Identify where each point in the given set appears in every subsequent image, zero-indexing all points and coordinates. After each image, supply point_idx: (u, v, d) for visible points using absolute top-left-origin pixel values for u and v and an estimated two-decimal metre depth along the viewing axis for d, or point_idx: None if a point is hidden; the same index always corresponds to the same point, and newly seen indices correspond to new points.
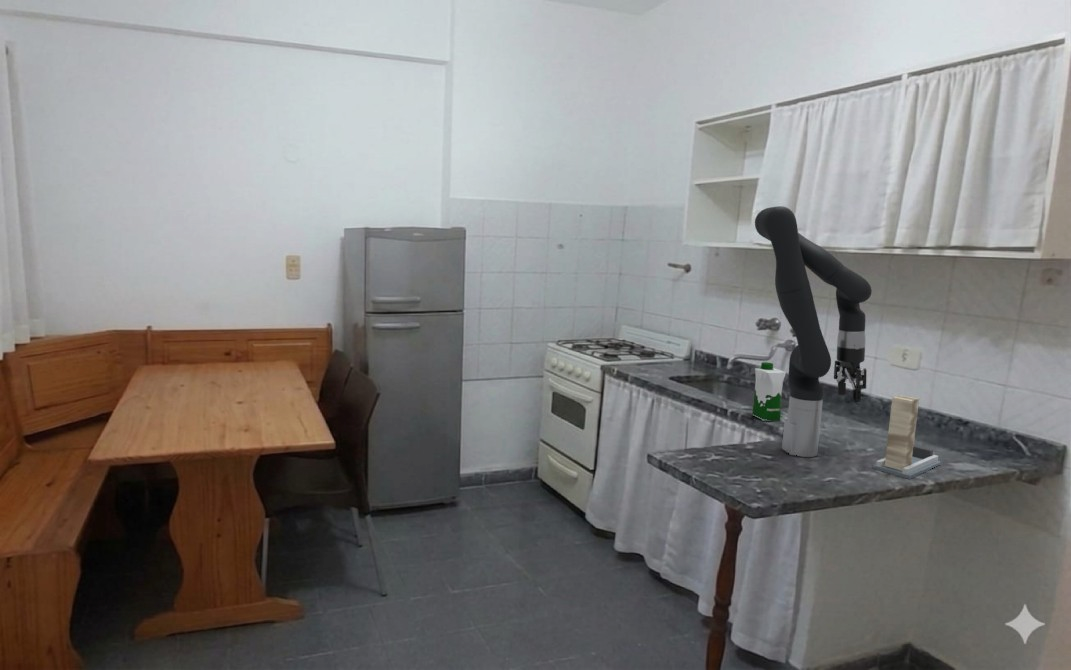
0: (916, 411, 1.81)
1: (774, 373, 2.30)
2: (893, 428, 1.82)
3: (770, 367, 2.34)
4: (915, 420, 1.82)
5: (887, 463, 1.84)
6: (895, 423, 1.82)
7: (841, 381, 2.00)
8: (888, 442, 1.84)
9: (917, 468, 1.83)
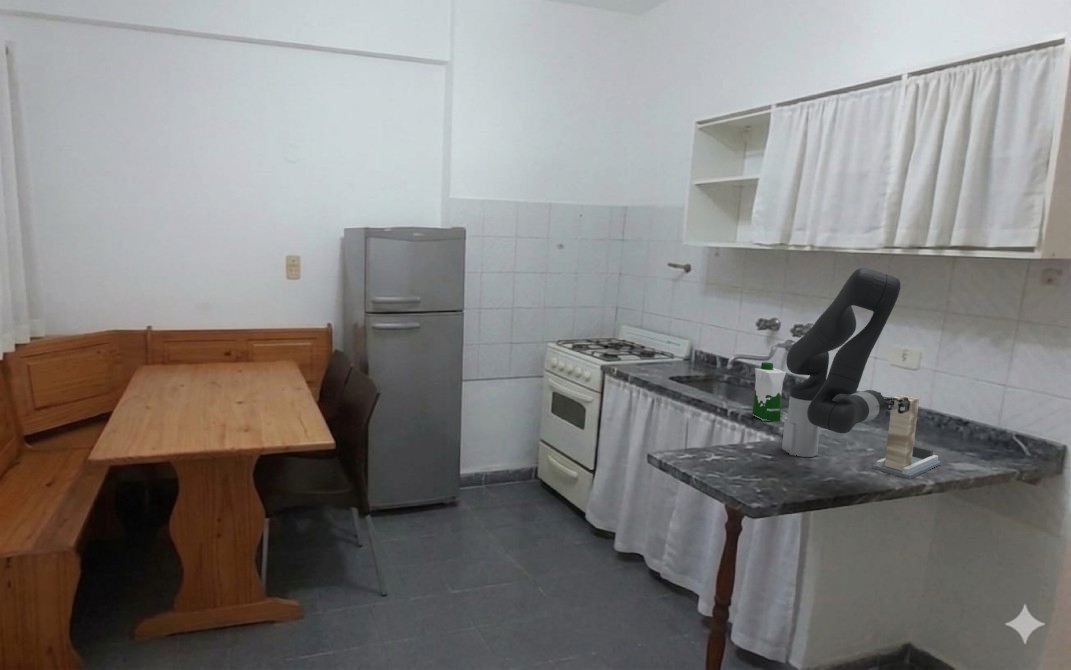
0: (916, 411, 1.81)
1: (774, 373, 2.30)
2: (893, 428, 1.82)
3: (770, 367, 2.34)
4: (915, 420, 1.82)
5: (887, 463, 1.84)
6: (895, 423, 1.82)
7: None
8: (888, 442, 1.84)
9: (917, 468, 1.83)
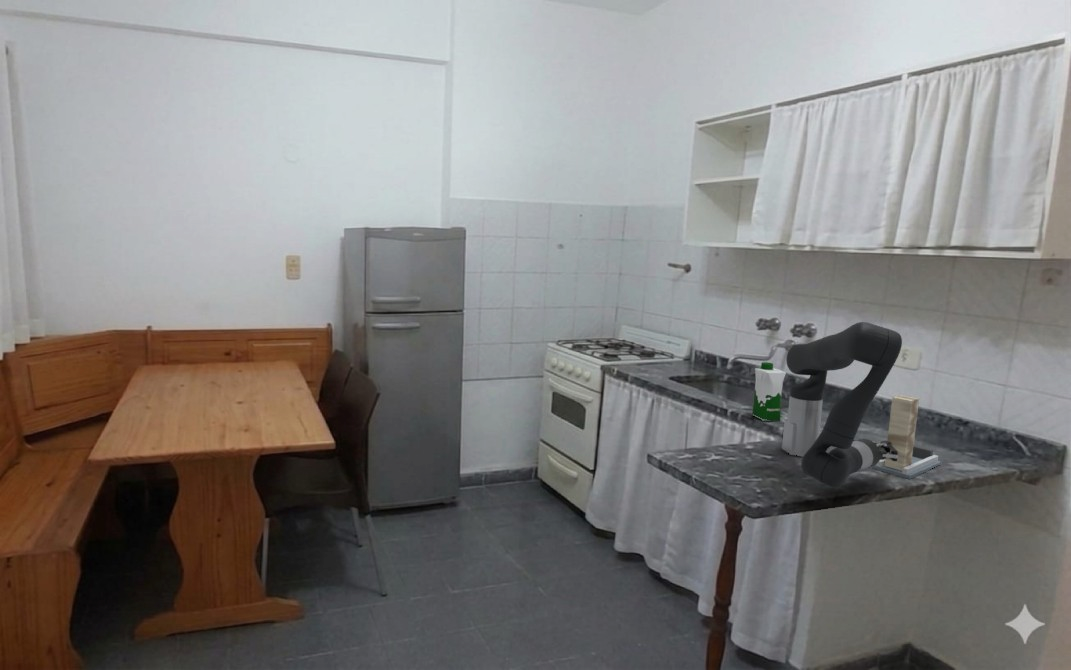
0: (916, 411, 1.81)
1: (774, 373, 2.30)
2: (893, 428, 1.82)
3: (770, 367, 2.34)
4: (915, 420, 1.82)
5: (887, 463, 1.84)
6: (895, 423, 1.82)
7: None
8: None
9: (917, 468, 1.83)
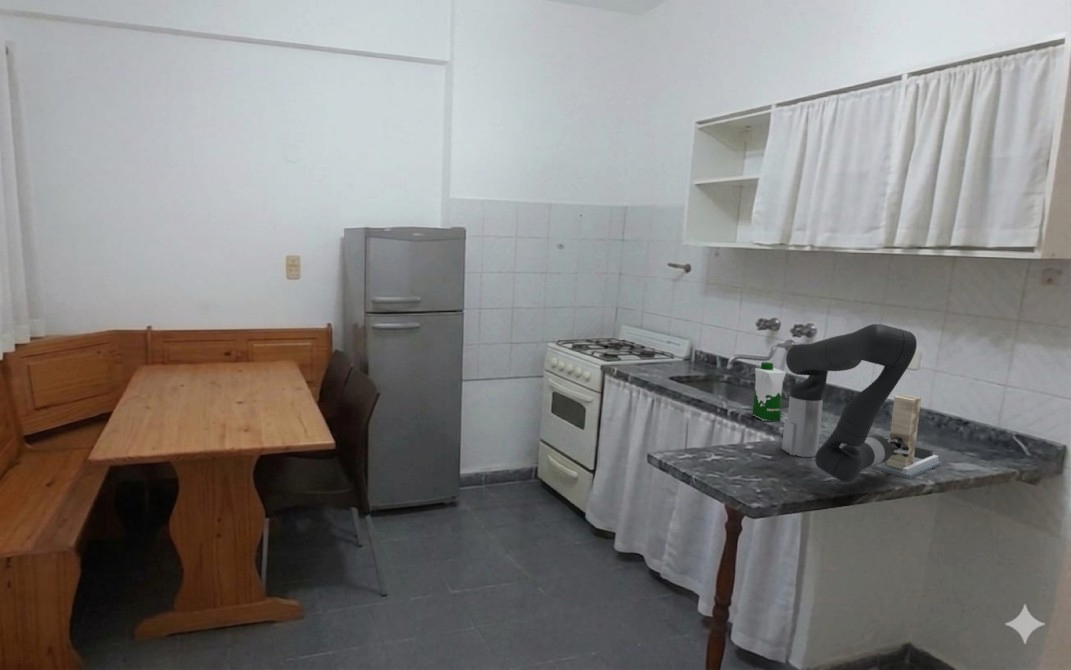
0: (918, 410, 1.82)
1: (774, 373, 2.30)
2: (895, 427, 1.83)
3: (770, 367, 2.34)
4: (917, 419, 1.82)
5: (889, 462, 1.85)
6: (897, 423, 1.83)
7: None
8: None
9: (917, 468, 1.83)
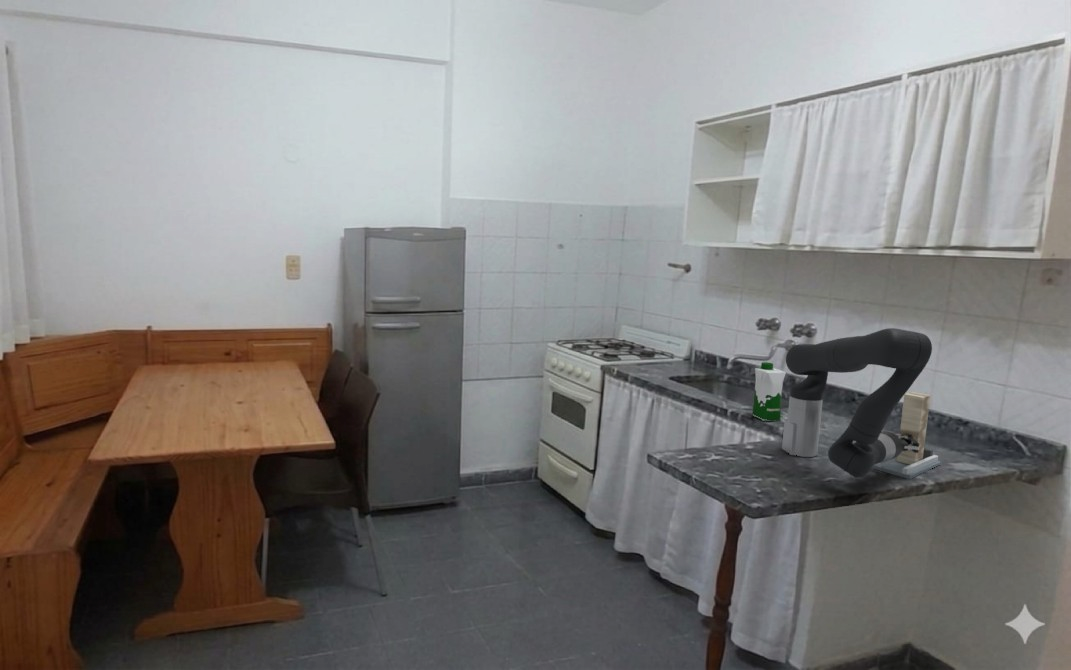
0: (927, 407, 1.86)
1: (774, 373, 2.30)
2: (905, 424, 1.87)
3: (770, 367, 2.34)
4: (926, 416, 1.86)
5: (899, 458, 1.89)
6: (907, 419, 1.87)
7: None
8: None
9: (917, 468, 1.83)
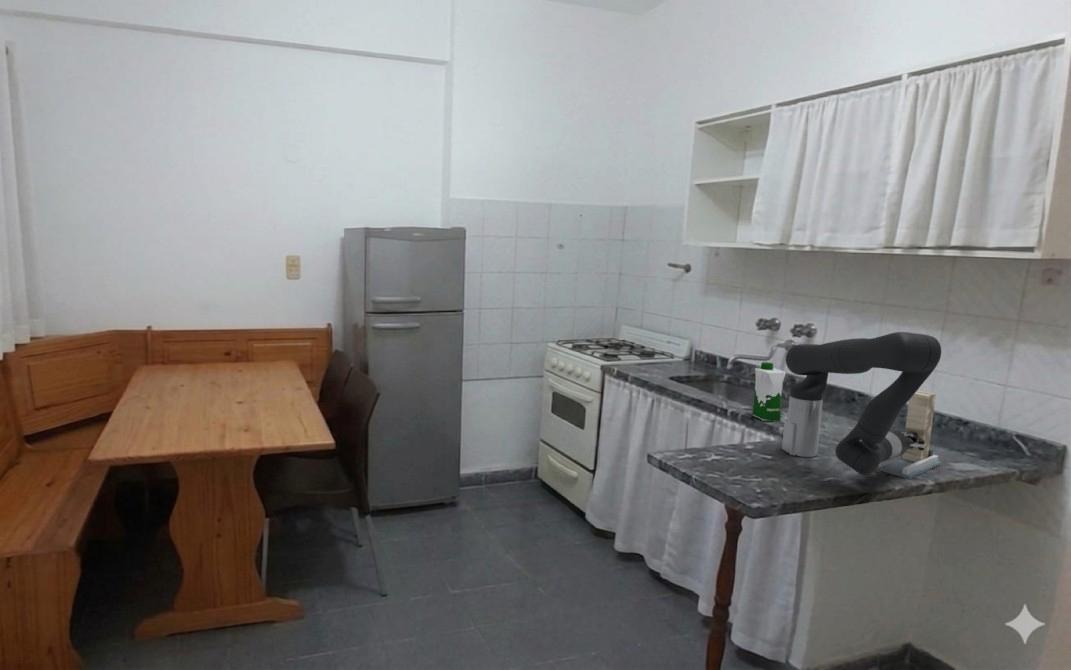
0: (933, 406, 1.88)
1: (774, 373, 2.30)
2: (910, 422, 1.89)
3: (770, 367, 2.34)
4: (932, 414, 1.89)
5: (905, 456, 1.91)
6: (912, 417, 1.89)
7: None
8: None
9: (917, 468, 1.83)
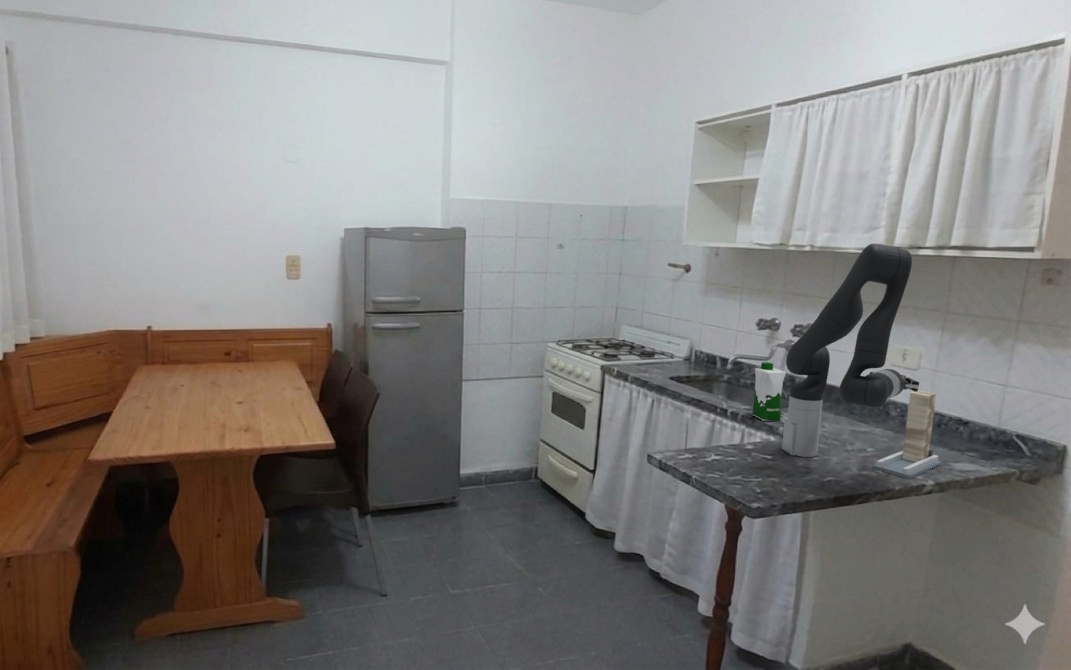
0: (933, 406, 1.88)
1: (774, 373, 2.30)
2: (911, 422, 1.89)
3: (770, 367, 2.34)
4: (932, 414, 1.89)
5: (905, 456, 1.91)
6: (912, 417, 1.89)
7: None
8: (906, 436, 1.91)
9: (917, 468, 1.83)
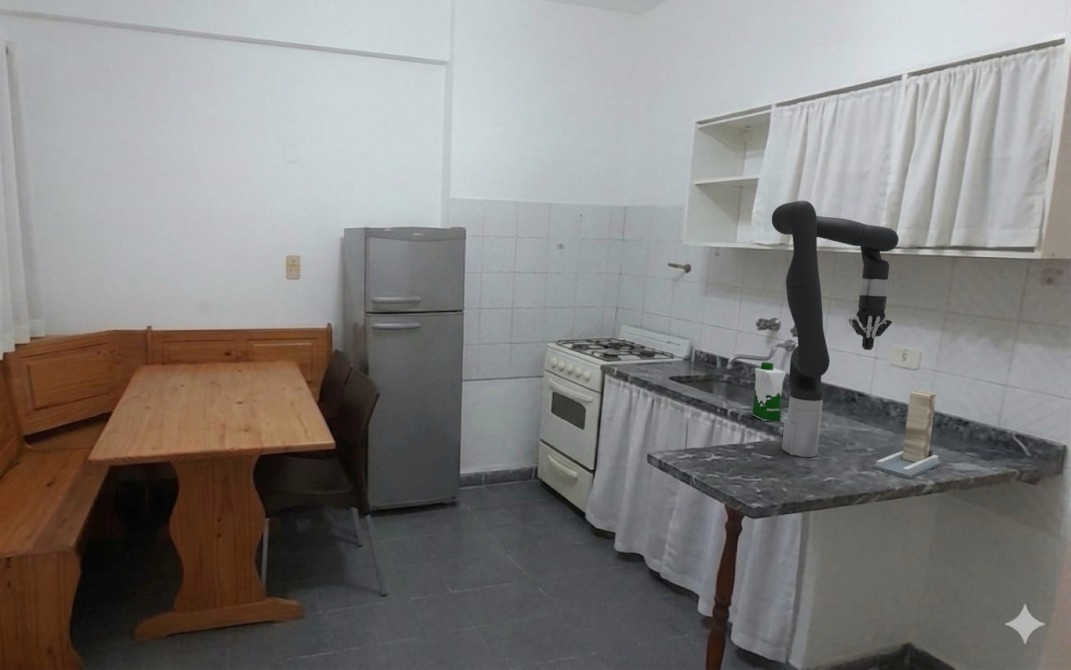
0: (933, 406, 1.88)
1: (774, 373, 2.30)
2: (911, 422, 1.89)
3: (770, 367, 2.34)
4: (932, 414, 1.89)
5: (905, 456, 1.91)
6: (912, 417, 1.89)
7: None
8: (906, 436, 1.91)
9: (917, 468, 1.83)
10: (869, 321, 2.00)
